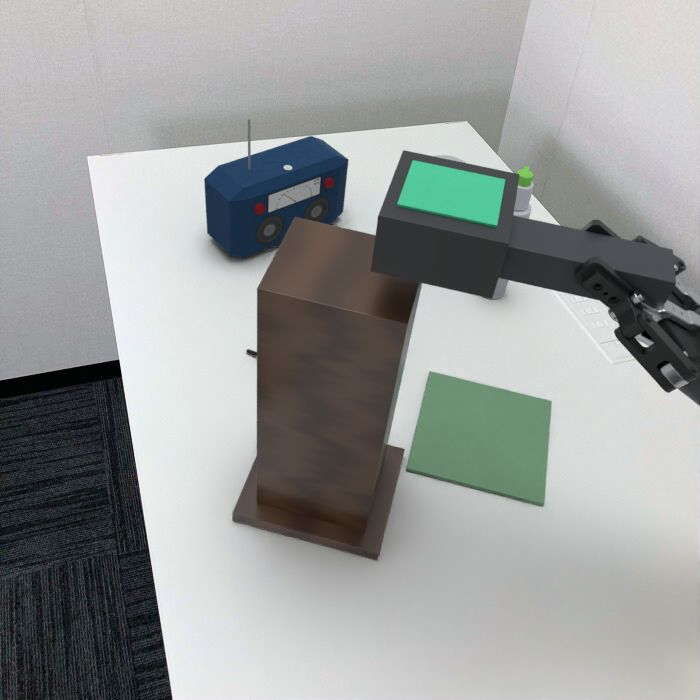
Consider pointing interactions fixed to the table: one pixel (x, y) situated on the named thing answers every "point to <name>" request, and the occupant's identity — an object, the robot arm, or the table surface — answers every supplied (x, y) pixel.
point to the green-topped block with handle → (493, 236)
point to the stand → (327, 390)
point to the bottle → (518, 214)
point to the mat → (482, 438)
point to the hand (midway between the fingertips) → (584, 247)
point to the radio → (273, 194)
